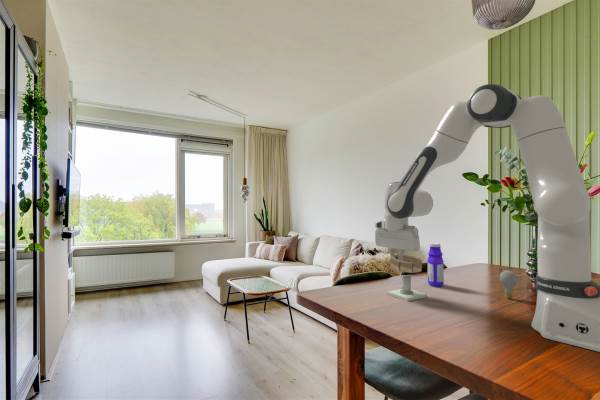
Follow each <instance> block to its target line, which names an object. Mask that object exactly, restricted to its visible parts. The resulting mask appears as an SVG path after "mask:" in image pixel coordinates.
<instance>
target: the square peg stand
mask: <svg viewBox="0 0 600 400" xmlns="http://www.w3.org/2000/svg"><path fill="white" fill-rule="evenodd" d="M401 278H402V280H401V281H402V283H401V285H402V288H398V289H394V290H393V289H392V290H388V291H386V295H387V296H391V297H395V298H398V299H400V300H403V301H405V302H408V301H409V302H411V301H415V300H418V299H424V298H428V294H427V293H423V292H421V291H417V290H414V289H412V277H411V276H410V275H402V276H401Z"/></svg>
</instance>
